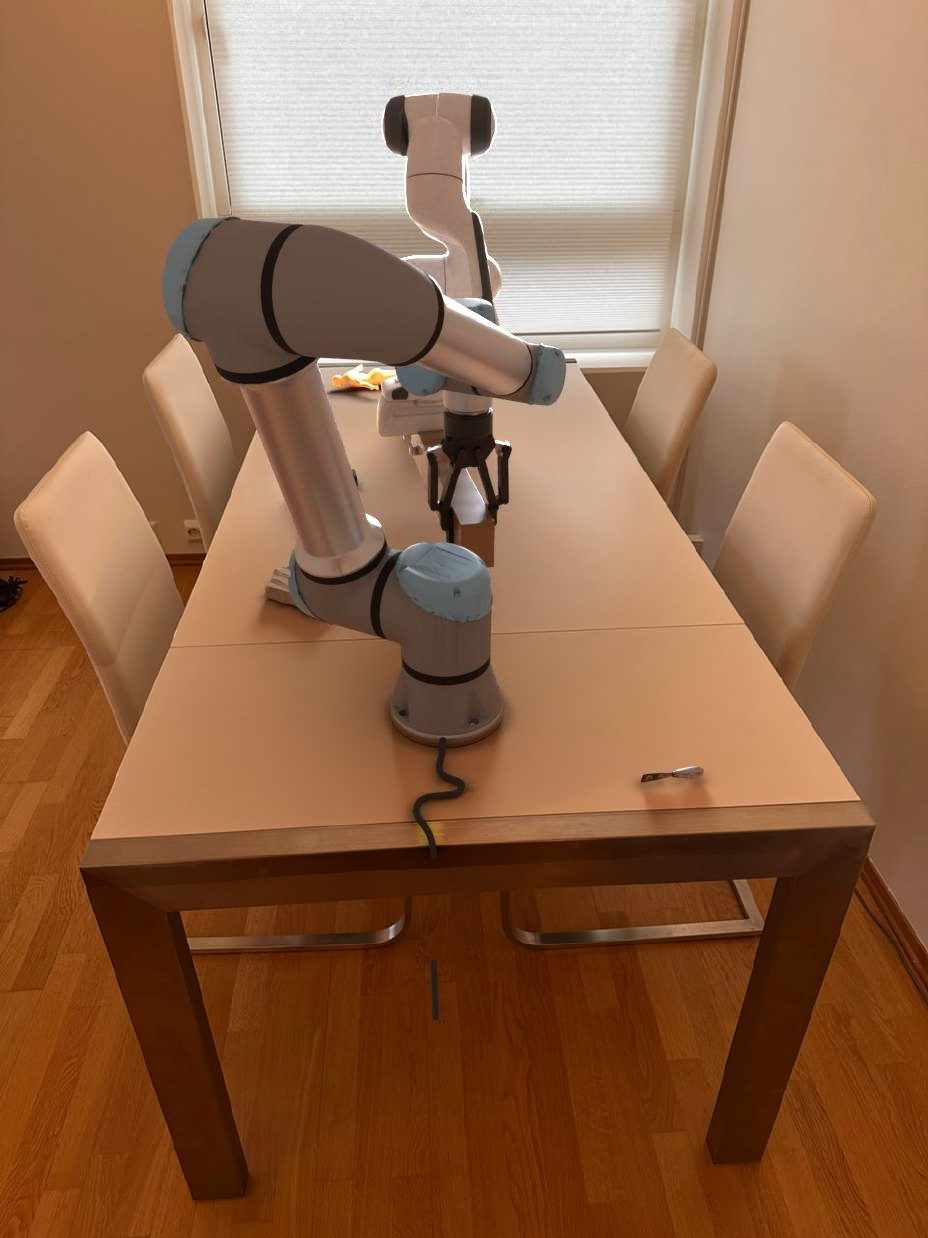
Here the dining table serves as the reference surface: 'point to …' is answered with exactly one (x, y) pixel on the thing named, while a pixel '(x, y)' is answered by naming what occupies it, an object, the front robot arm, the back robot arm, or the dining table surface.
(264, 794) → the dining table surface
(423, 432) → the beam
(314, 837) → the dining table surface
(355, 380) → the human figure
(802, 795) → the dining table surface
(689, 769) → the putty knife
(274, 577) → the stone
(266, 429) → the front robot arm
